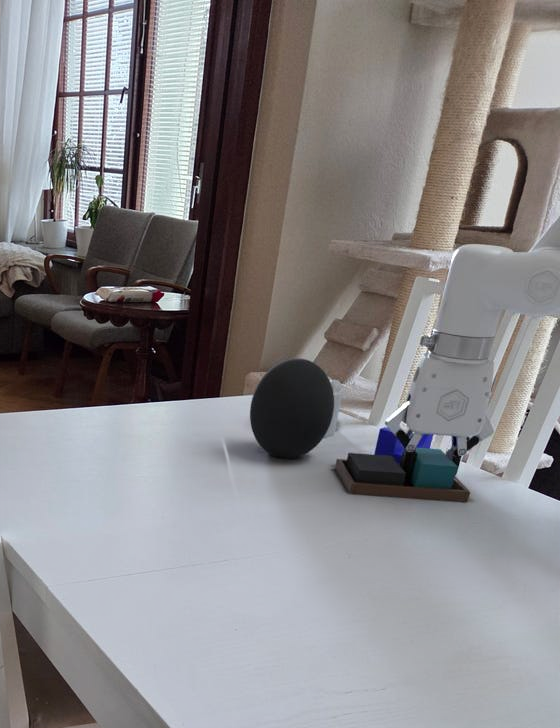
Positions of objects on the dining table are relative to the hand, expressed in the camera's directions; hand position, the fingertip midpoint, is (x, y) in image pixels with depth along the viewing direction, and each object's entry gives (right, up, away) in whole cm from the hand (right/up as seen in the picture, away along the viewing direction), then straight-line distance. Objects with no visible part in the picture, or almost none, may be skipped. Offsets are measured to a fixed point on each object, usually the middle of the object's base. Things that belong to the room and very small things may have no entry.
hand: (425, 477), depth 122 cm
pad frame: (-4, -1, +1) cm, 4 cm away
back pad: (-7, -1, +1) cm, 8 cm away
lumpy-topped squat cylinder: (-10, +13, +27) cm, 32 cm away
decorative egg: (-18, +5, +11) cm, 22 cm away
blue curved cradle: (+1, +4, +11) cm, 12 cm away
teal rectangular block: (0, 0, 0) cm, 0 cm away
